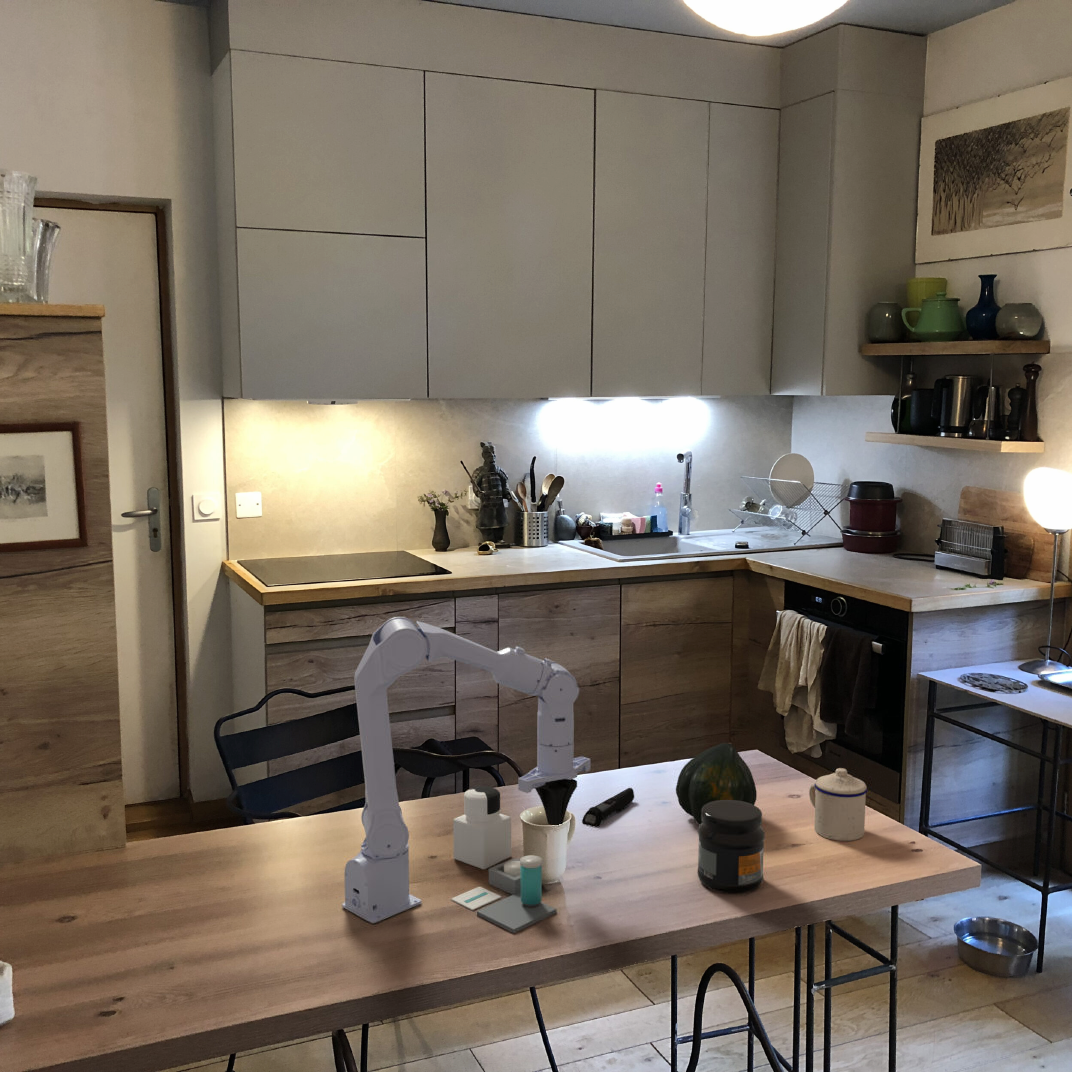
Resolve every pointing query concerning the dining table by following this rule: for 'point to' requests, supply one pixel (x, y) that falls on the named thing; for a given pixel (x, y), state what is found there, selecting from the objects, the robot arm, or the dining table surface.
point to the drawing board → (515, 913)
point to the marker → (531, 880)
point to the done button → (512, 868)
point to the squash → (714, 780)
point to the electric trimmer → (608, 808)
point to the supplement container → (731, 846)
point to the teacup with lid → (839, 806)
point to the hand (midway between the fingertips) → (555, 824)
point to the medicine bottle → (482, 829)
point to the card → (475, 898)
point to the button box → (504, 879)
